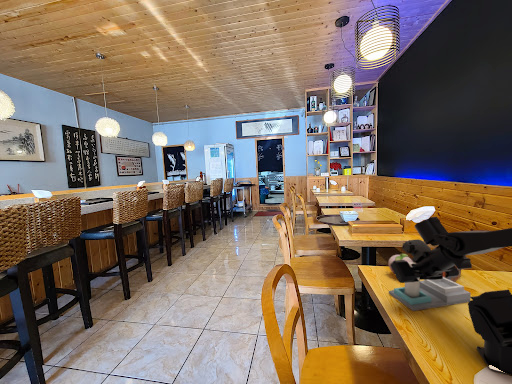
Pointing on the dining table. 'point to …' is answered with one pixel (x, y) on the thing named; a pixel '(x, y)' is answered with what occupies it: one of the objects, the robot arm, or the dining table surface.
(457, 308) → the dining table surface
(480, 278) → the dining table surface
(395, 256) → the decorative fruit
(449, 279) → the tin
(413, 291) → the white rounded cylinder
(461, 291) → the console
